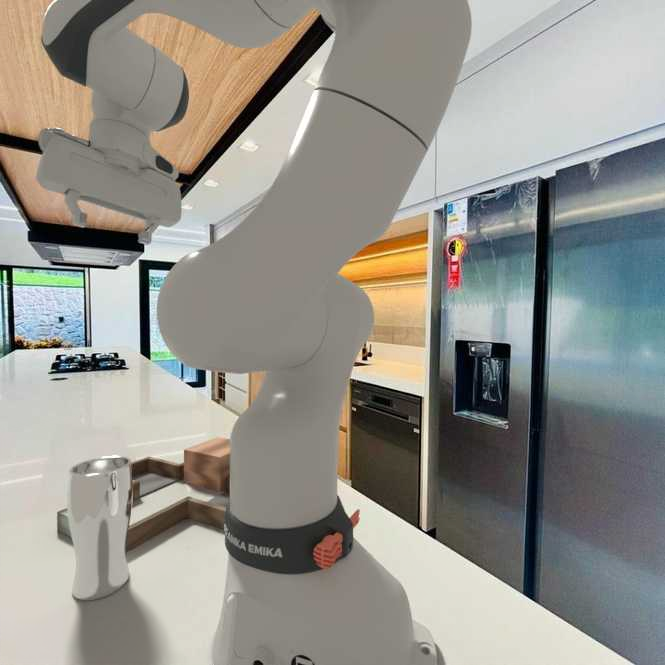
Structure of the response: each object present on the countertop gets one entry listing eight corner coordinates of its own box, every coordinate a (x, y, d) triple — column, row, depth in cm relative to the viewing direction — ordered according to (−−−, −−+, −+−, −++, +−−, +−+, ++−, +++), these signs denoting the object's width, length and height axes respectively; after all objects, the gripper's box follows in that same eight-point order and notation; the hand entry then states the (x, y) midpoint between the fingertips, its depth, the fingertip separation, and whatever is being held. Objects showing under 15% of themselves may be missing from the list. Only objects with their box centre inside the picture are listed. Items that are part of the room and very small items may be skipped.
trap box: (301, 484, 76) (301, 469, 76) (164, 580, 47) (164, 556, 47) (183, 456, 92) (183, 444, 92) (25, 515, 63) (25, 498, 63)
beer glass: (131, 559, 51) (130, 452, 51) (135, 589, 45) (135, 468, 45) (69, 577, 47) (69, 461, 47) (65, 612, 42) (65, 480, 41)
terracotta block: (252, 474, 82) (252, 443, 82) (220, 492, 73) (220, 457, 73) (218, 467, 86) (218, 437, 86) (184, 482, 77) (183, 449, 77)
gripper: (46, 110, 51) (36, 204, 49) (187, 173, 66) (184, 247, 64) (35, 131, 55) (25, 219, 53) (170, 185, 70) (167, 255, 68)
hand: (113, 234), depth 58 cm, fingers open, 8 cm apart
